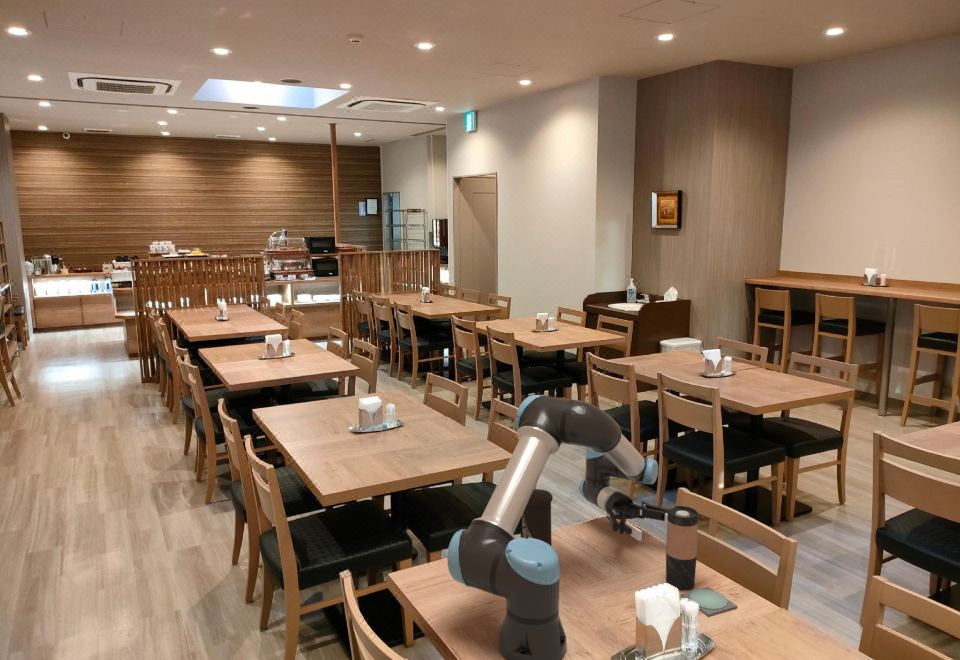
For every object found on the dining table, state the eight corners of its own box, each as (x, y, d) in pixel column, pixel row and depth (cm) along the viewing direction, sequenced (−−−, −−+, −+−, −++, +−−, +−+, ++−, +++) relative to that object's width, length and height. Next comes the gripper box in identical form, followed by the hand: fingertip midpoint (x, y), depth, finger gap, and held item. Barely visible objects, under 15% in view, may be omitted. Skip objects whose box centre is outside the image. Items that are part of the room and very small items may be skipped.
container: (515, 557, 193) (515, 490, 190) (542, 550, 197) (543, 484, 194) (530, 570, 186) (530, 500, 183) (558, 563, 189) (559, 495, 186)
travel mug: (696, 592, 173) (699, 518, 171) (665, 590, 175) (668, 516, 172) (693, 578, 181) (696, 506, 178) (664, 575, 182) (666, 504, 180)
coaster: (708, 616, 163) (708, 612, 163) (680, 596, 172) (680, 592, 172) (737, 608, 166) (737, 604, 166) (708, 588, 175) (708, 585, 175)
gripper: (649, 508, 209) (696, 536, 190) (579, 522, 199) (622, 553, 180) (649, 484, 208) (697, 510, 189) (580, 498, 198) (623, 526, 179)
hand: (661, 531), depth 184 cm, fingers open, 13 cm apart
